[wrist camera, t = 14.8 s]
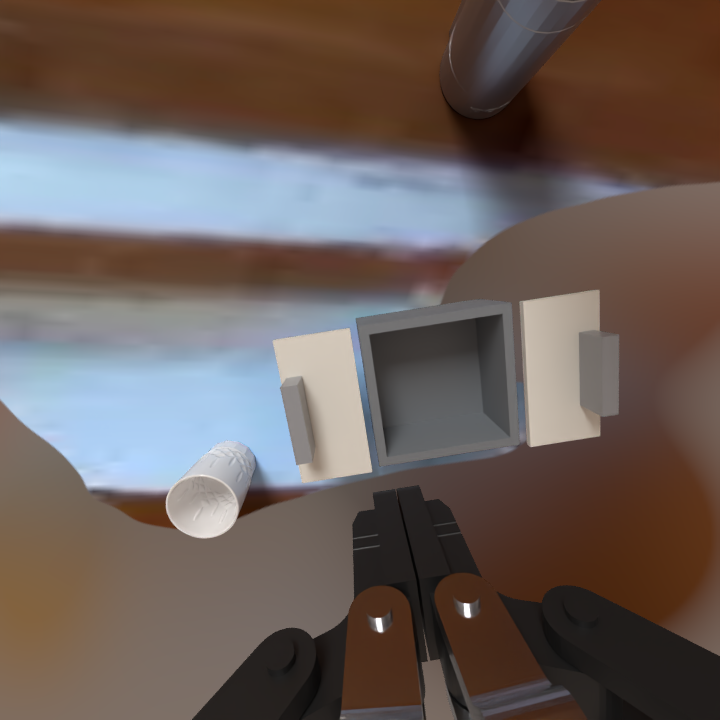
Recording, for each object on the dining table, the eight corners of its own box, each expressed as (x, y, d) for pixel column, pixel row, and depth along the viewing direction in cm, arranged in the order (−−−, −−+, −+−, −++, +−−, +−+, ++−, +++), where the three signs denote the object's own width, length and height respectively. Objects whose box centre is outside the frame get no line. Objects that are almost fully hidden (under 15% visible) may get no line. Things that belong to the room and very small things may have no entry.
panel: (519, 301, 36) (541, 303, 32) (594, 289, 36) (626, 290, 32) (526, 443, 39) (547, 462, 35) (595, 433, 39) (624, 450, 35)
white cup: (271, 471, 49) (252, 517, 39) (224, 497, 49) (194, 550, 40) (238, 425, 47) (210, 462, 37) (190, 453, 48) (150, 497, 38)
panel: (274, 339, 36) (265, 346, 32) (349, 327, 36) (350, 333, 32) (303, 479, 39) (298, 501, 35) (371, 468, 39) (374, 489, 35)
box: (355, 318, 45) (358, 326, 36) (479, 299, 45) (511, 302, 36) (373, 433, 48) (379, 466, 39) (488, 415, 48) (519, 444, 39)
